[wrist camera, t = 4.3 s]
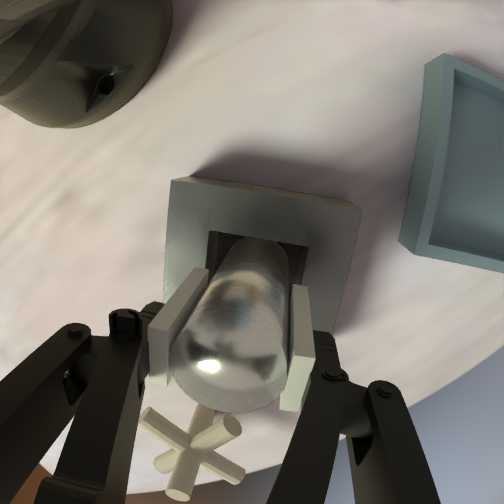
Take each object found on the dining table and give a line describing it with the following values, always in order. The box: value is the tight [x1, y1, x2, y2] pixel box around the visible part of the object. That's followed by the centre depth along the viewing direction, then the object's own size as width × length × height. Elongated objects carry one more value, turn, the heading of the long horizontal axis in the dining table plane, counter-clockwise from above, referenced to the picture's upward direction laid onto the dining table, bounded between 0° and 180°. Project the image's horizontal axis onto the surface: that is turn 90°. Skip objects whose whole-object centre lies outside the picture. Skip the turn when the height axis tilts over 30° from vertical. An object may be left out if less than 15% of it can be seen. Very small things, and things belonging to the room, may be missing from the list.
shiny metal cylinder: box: [170, 236, 289, 413], centre depth 17 cm, size 4×4×12 cm
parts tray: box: [398, 53, 504, 273], centre depth 17 cm, size 13×13×3 cm
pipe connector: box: [138, 404, 245, 501], centre depth 23 cm, size 10×10×10 cm
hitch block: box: [163, 176, 362, 334], centre depth 21 cm, size 11×11×4 cm
